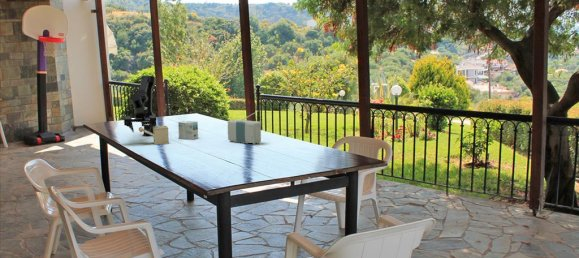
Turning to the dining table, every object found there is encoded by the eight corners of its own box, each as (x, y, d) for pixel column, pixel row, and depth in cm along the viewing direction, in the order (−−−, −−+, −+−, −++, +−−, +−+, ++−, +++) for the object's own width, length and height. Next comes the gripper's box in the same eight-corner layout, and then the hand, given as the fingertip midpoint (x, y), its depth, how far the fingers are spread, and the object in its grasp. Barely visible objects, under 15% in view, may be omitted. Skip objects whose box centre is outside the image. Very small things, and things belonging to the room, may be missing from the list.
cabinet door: (153, 131, 340) (139, 125, 337) (154, 134, 332) (140, 127, 328) (151, 135, 340) (137, 128, 337) (153, 137, 332) (138, 131, 328)
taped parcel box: (227, 141, 341) (226, 109, 338) (236, 140, 347) (235, 108, 344) (254, 145, 329) (253, 111, 326) (262, 143, 336) (262, 110, 333)
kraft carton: (166, 140, 344) (166, 125, 343) (168, 143, 335) (168, 128, 333) (153, 141, 341) (152, 126, 340) (155, 144, 332) (154, 128, 331)
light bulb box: (198, 138, 355) (198, 121, 353) (193, 139, 348) (192, 122, 347) (183, 137, 358) (183, 120, 356) (178, 138, 352) (177, 122, 350)
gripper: (123, 103, 329) (124, 124, 320) (155, 102, 335) (158, 122, 326) (123, 114, 338) (125, 135, 329) (154, 113, 343) (157, 133, 335)
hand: (141, 131), depth 329 cm, fingers open, 9 cm apart
